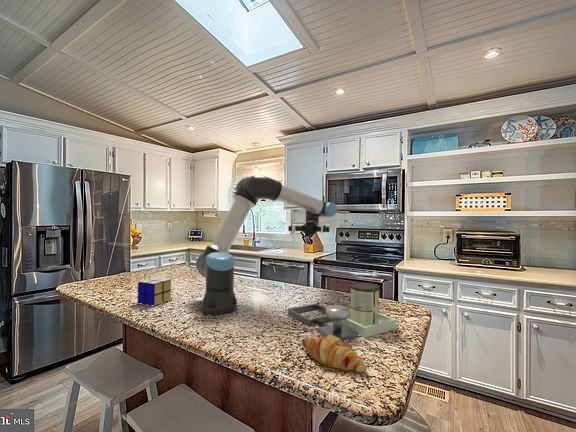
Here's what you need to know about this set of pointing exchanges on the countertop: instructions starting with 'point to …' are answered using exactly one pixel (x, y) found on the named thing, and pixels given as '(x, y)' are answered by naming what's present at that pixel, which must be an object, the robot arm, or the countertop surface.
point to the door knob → (337, 323)
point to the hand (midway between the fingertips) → (307, 229)
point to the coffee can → (365, 303)
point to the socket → (296, 310)
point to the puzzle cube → (154, 291)
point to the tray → (370, 330)
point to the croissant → (333, 353)
